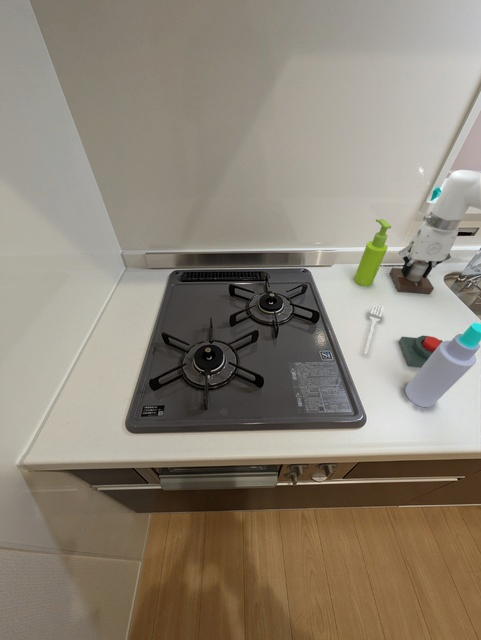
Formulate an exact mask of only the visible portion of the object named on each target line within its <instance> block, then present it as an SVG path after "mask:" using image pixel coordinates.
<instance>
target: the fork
mask: <svg viewBox="0 0 481 640" xmlns="http://www.w3.org/2000/svg"><path fill="white" fill-rule="evenodd" d="M380 307H381V308H380ZM383 309H384V305H382V306H381V304H379V303H376V302H374V303H373V306H372V308H371V310H370V312H369V313H370V314H371V315H372V314H373V315H376V316H378V317H382V315H383ZM378 317H377V318H376V317H374V316H369V319H370V320H371V323H370V326H369V332H368V336H367V340H366V344H365V349H364V353H363V354H364V355H368V352H369V348H370V345H371V342H372V339H373V334H374V331H375V328H376V323H377V322H380V321H381V319H380V318H378Z"/></svg>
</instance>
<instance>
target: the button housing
mask: <svg viewBox="0 0 481 640" xmlns="http://www.w3.org/2000/svg"><path fill="white" fill-rule="evenodd" d="M429 336H430V335H420V336H418V337H411V336H401V337H400V338H399V340H398V345H399V347H400V350H401V352H402V355H403V359H404V360H405V363H406V365H407V367H411V368H419V369H420V368H421V367H422V366H423V365H424V363H425V362H426V361H427V360H428V358H429V357H430V356H431V355H432V353H433V352H431V351H428V350H426V349H425V348H424V347H423V345H422V343H423V341H424V340H425V339H426V337H429ZM439 340H440V341H441V343H442V342H444V341H443V340H442V339H439Z"/></svg>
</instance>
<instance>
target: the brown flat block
mask: <svg viewBox="0 0 481 640" xmlns="http://www.w3.org/2000/svg"><path fill="white" fill-rule="evenodd" d="M401 269H402V267H401V268H399V267H391V269H390V272H389V274H388V275H389V277H390V278H391V280H392V283H393V285H394V287H395V289H396V291H397V292H398V293H410V294H422V295H431V293H432V292H433V290H434V286H433V284H432V283H431V281H430V279H429V277H428V276H427V277H426V278H423V277H422V278H421V279H420V281H418V282H413V281H410V280H408V279H406V278H405V277H404V276H403V274H402V272H401Z"/></svg>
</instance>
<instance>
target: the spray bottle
mask: <svg viewBox="0 0 481 640" xmlns="http://www.w3.org/2000/svg"><path fill="white" fill-rule="evenodd" d="M480 342H481V323H480V322H472V323H471V324H470V325H469V326H468V328H466V330H465V331H464V332H463V333H458V334H456V335H455V336H454V337H453V338H452V339H451V340H444V341H443V342H442V343H441V344H440V345H439V346H438V347H437V348H436V350H435V351H434V352H433V353H432V355H431V356H430V357H429V358H428V360H427V361H426V362H425V363H424V365H423V366H422V367H421V368H419V369H418V370H417V372H416V373H415V375H414V376H413V377H412V378H411V379H410V380H409V382H408V383H407V385H405V390H404V391H405V395H406V397H407V398H408V400H409V401H410V402H411V403H413V404H414V405H417V406H419V407H422V408H429V407H432V406H433V405H435V404H436V403H437V402H438V401H439V400H440V399H441V398H442V397H443V396H444V395H445V394H446V393H447V392H448V391H449V390H450V389H451V388H452V387H453V386H454V385H455V384H456V383H457V382H458V381H459V380H460V379H462V378H463V376H464V375H465V374H466V373H467V372H469V370H470V369H471V368H472V367H473V366H475V364H476V362H477V356H476V355H475V354H476V353H477V352H478V351H479V349H480V348H481V347H480V346H481V345H480Z"/></svg>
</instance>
